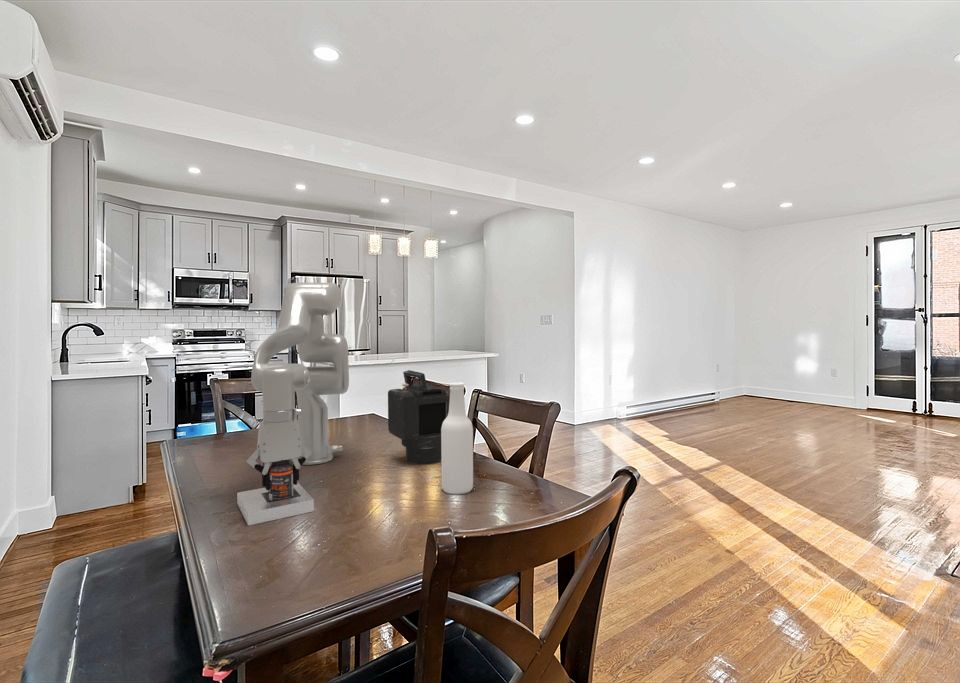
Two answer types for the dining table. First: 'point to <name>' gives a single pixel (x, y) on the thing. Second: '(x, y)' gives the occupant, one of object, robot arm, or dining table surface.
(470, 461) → the alcohol
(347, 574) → the dining table surface
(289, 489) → the supplement bottle
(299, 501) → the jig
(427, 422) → the lantern
